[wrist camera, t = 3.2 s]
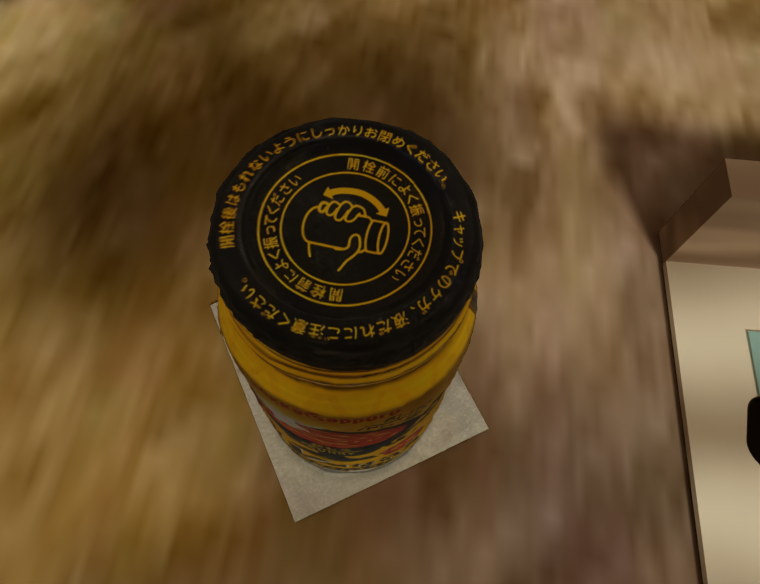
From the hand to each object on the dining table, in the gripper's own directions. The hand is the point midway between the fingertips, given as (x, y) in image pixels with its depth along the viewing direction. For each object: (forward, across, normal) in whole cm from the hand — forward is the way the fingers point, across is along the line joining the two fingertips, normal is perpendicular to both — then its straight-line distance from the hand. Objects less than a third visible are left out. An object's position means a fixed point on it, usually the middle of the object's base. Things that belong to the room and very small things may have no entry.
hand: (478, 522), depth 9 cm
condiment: (+14, 0, +5) cm, 14 cm away
